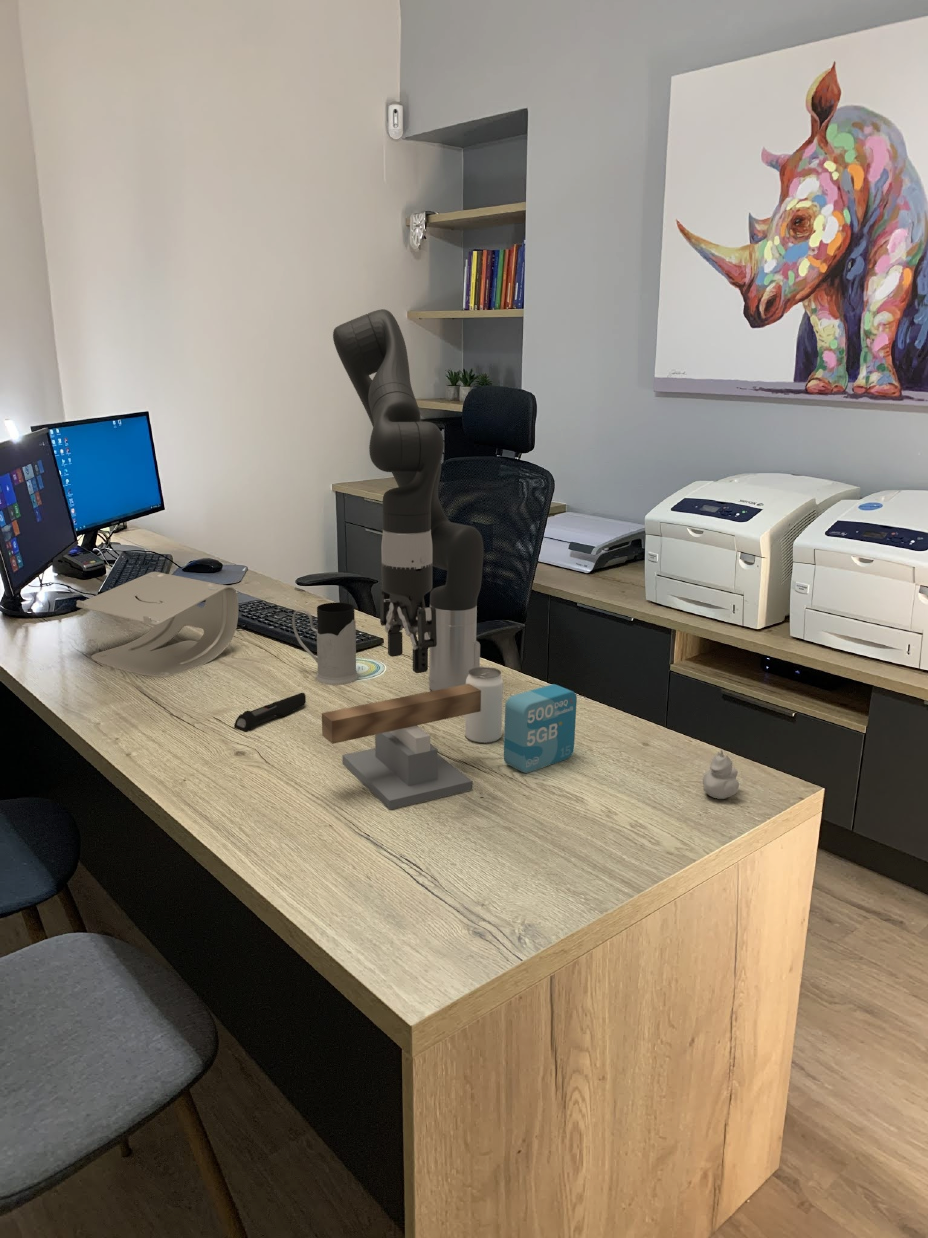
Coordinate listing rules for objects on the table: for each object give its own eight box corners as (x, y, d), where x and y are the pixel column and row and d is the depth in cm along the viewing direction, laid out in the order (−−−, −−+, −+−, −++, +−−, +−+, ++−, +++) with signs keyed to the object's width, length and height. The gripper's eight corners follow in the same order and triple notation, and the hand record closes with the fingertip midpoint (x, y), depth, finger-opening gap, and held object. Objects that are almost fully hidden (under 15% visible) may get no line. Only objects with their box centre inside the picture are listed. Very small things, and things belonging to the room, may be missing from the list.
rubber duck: (692, 794, 141) (697, 746, 139) (718, 783, 145) (723, 736, 143) (722, 808, 137) (727, 758, 135) (747, 795, 141) (753, 747, 139)
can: (506, 732, 163) (508, 668, 160) (495, 746, 157) (497, 680, 154) (471, 727, 165) (472, 664, 162) (459, 740, 159) (460, 675, 156)
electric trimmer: (311, 710, 173) (311, 694, 172) (246, 734, 161) (246, 717, 160) (297, 705, 175) (297, 689, 174) (232, 728, 163) (232, 712, 162)
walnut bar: (332, 744, 135) (331, 721, 134) (322, 735, 138) (321, 713, 137) (480, 711, 148) (481, 690, 147) (468, 704, 151) (468, 683, 150)
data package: (521, 776, 146) (523, 705, 143) (502, 766, 150) (504, 697, 147) (574, 757, 154) (578, 689, 150) (555, 748, 157) (558, 682, 154)
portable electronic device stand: (244, 652, 204) (240, 584, 200) (159, 682, 185) (153, 607, 181) (165, 632, 217) (160, 568, 213) (78, 658, 198) (70, 588, 193)
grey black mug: (347, 687, 184) (345, 614, 180) (284, 678, 188) (281, 607, 184) (365, 673, 192) (364, 604, 188) (304, 665, 196) (302, 597, 192)
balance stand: (419, 747, 156) (419, 697, 154) (472, 790, 141) (473, 735, 139) (342, 763, 150) (341, 711, 147) (389, 810, 135) (389, 753, 132)
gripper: (363, 552, 140) (365, 654, 144) (405, 572, 128) (406, 682, 132) (408, 548, 143) (408, 647, 148) (452, 566, 132) (451, 673, 136)
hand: (407, 663), depth 140 cm, fingers open, 8 cm apart
